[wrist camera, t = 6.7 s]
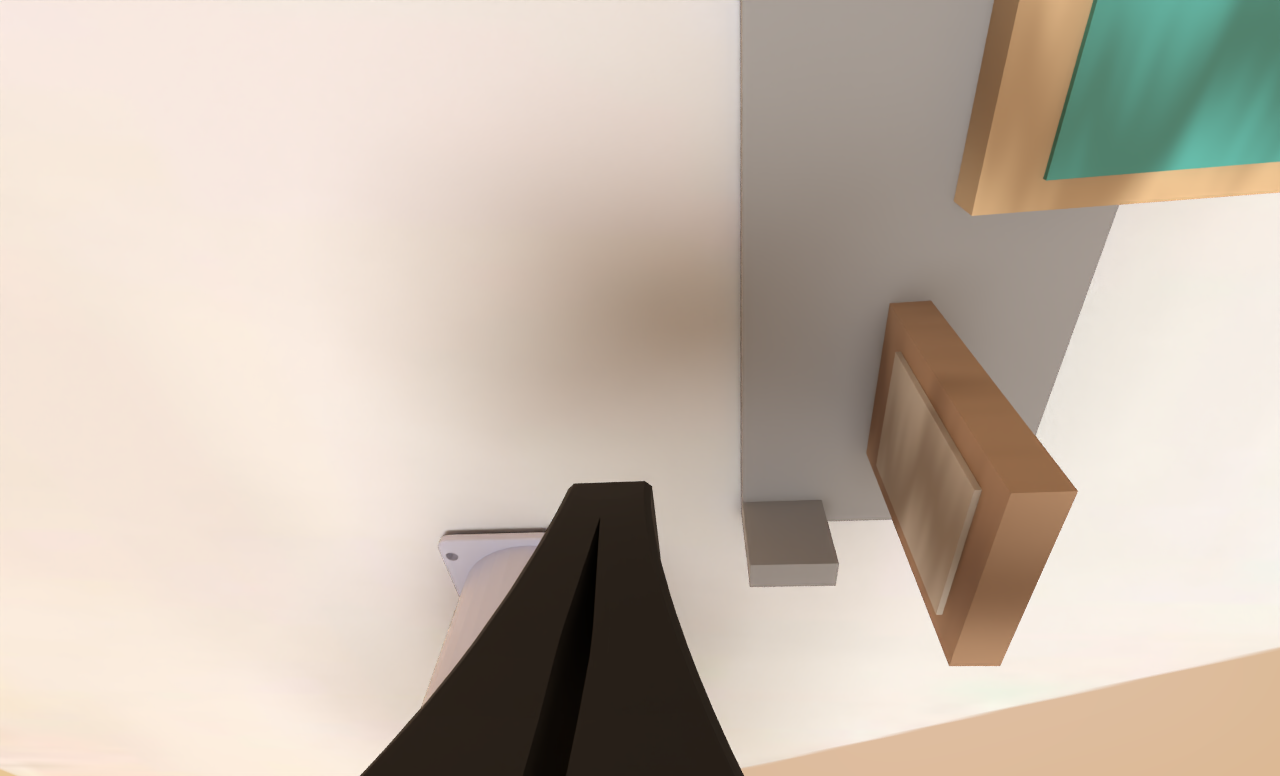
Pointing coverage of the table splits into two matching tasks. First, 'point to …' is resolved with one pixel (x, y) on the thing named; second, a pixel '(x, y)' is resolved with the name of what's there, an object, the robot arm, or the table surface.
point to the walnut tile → (961, 485)
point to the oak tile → (1123, 104)
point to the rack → (872, 253)
